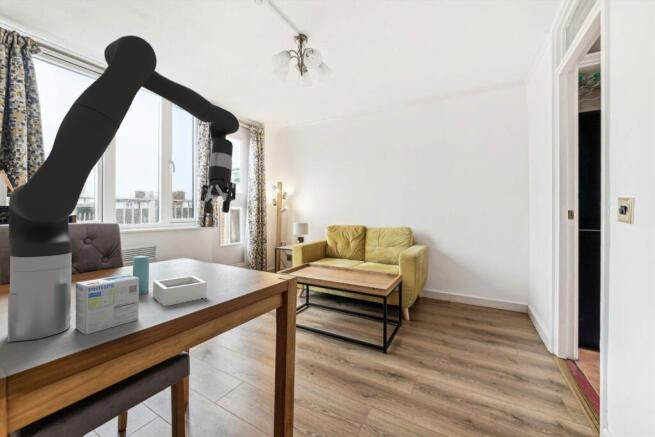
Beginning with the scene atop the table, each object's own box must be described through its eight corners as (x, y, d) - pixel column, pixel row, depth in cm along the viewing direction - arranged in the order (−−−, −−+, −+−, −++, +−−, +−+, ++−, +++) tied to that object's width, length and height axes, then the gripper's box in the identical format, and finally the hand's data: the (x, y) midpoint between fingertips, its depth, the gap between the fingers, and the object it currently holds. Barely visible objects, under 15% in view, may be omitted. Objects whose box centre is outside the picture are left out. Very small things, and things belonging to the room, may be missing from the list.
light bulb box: (127, 314, 70) (128, 273, 70) (139, 320, 67) (140, 277, 67) (73, 328, 61) (74, 281, 61) (84, 336, 58) (85, 286, 58)
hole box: (163, 306, 77) (164, 289, 77) (153, 296, 85) (153, 281, 85) (206, 297, 85) (206, 282, 85) (192, 289, 94) (193, 275, 94)
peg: (133, 295, 86) (134, 258, 85) (131, 292, 89) (131, 256, 88) (150, 293, 89) (150, 257, 89) (146, 290, 92) (147, 255, 92)
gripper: (197, 167, 95) (193, 212, 93) (227, 162, 89) (222, 210, 87) (214, 173, 102) (210, 215, 100) (243, 169, 96) (239, 213, 93)
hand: (216, 212), depth 93 cm, fingers open, 8 cm apart
